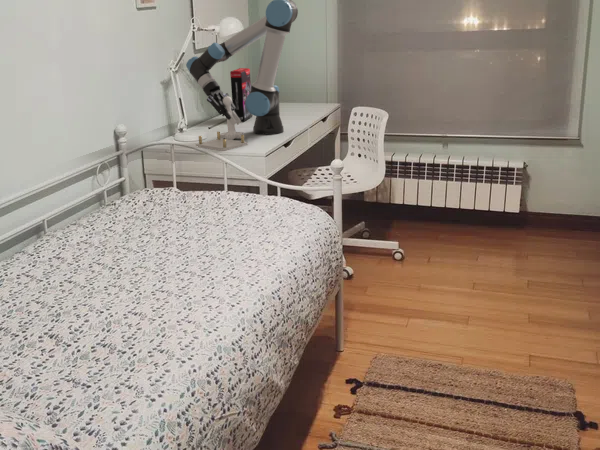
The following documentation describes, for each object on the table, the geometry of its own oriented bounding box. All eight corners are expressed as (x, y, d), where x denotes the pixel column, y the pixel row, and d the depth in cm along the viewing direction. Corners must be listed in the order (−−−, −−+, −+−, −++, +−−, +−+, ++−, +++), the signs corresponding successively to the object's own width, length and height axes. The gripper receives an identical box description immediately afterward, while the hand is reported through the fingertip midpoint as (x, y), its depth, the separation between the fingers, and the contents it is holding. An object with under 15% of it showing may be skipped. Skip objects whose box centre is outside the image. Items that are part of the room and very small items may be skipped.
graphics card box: (244, 122, 374) (242, 71, 366) (232, 122, 376) (229, 71, 367) (252, 117, 390) (250, 67, 382) (241, 117, 392) (238, 67, 383)
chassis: (220, 140, 326) (219, 131, 325) (247, 144, 317) (247, 134, 315) (196, 146, 314) (195, 136, 313) (223, 150, 304) (222, 140, 303)
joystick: (245, 136, 330) (239, 94, 322) (239, 141, 324) (233, 98, 316) (223, 136, 334) (217, 95, 326) (217, 141, 327) (211, 99, 319)
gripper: (216, 89, 337) (244, 126, 332) (194, 92, 325) (221, 131, 321) (224, 78, 332) (251, 115, 327) (201, 81, 320) (229, 120, 316)
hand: (237, 123), depth 324 cm, fingers closed on joystick, 2 cm apart
